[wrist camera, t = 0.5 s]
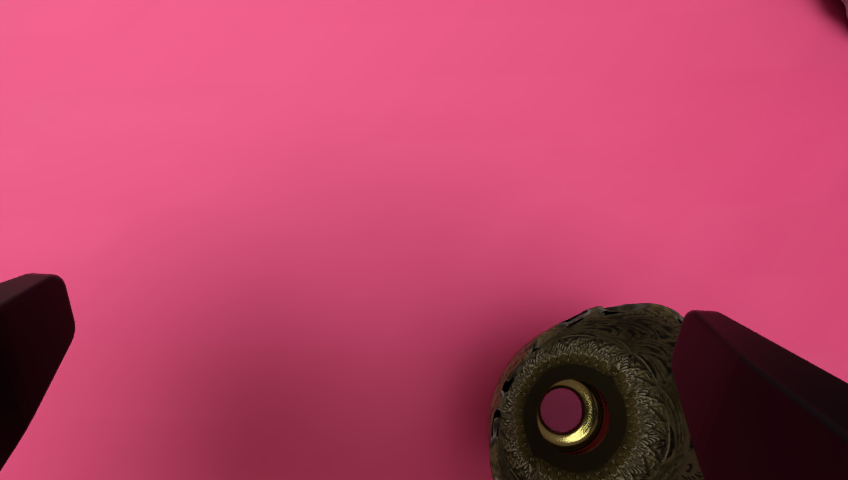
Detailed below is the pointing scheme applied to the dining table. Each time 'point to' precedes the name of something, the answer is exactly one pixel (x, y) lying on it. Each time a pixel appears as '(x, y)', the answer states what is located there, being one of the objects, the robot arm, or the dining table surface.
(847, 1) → the dark grey rock
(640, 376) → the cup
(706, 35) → the dining table surface
